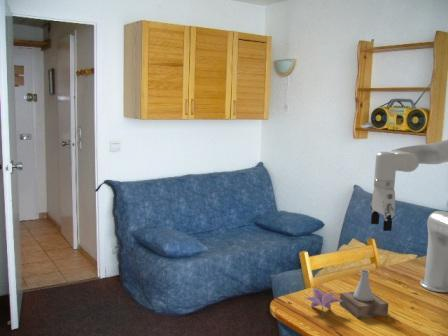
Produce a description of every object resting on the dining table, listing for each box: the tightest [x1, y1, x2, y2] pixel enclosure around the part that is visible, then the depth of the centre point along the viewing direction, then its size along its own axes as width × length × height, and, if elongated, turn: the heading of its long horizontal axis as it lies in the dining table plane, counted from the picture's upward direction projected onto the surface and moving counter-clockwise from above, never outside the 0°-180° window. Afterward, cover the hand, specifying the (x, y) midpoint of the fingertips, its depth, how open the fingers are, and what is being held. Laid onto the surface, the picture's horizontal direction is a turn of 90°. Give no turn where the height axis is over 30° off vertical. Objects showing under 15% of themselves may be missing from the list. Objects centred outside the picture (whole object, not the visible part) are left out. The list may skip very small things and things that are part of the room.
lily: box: [304, 287, 343, 319], centre depth 165 cm, size 12×12×10 cm
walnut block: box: [339, 291, 389, 320], centre depth 169 cm, size 12×12×5 cm
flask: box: [353, 269, 373, 301], centre depth 168 cm, size 7×7×10 cm
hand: (380, 227), depth 182 cm, fingers open, 9 cm apart
